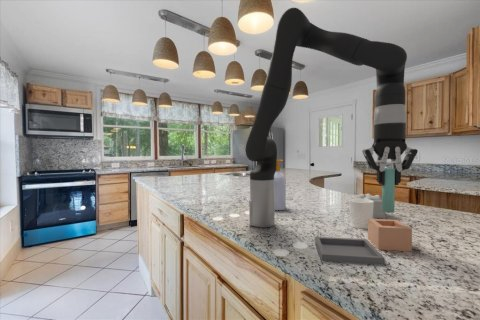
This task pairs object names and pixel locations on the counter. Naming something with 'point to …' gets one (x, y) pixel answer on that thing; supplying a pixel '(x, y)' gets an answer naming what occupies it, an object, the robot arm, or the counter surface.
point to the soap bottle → (279, 189)
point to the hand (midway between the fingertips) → (388, 184)
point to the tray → (347, 250)
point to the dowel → (388, 191)
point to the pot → (390, 234)
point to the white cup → (360, 212)
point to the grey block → (377, 204)
